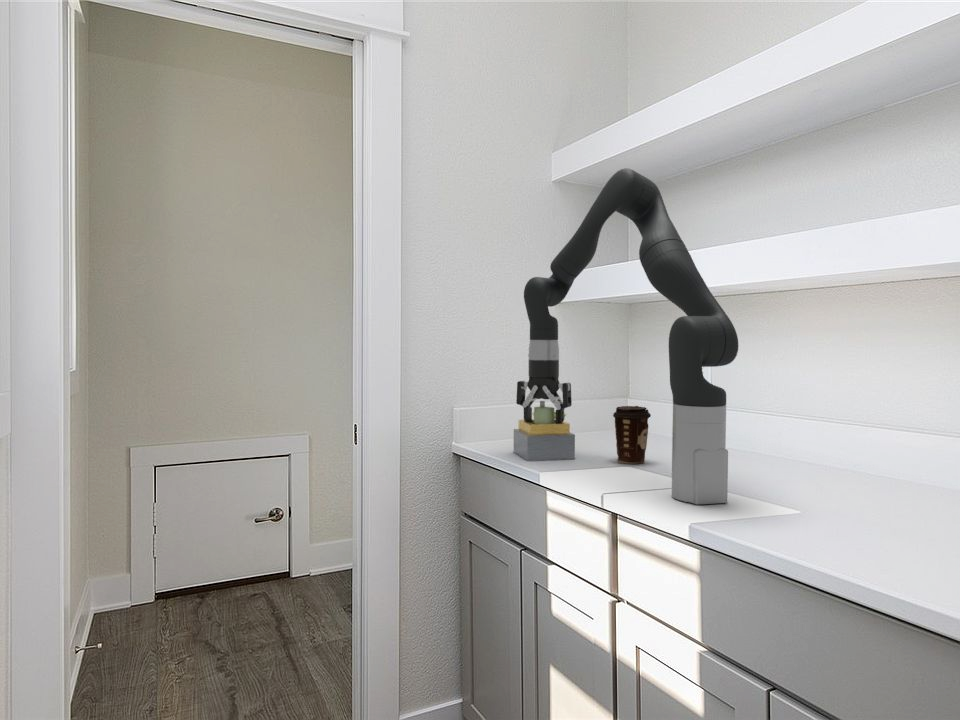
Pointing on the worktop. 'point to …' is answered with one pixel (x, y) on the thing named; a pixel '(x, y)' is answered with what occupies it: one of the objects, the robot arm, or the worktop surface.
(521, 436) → the open square metal box
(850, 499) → the worktop surface
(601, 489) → the worktop surface
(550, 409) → the spout can
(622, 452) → the coffee cup
